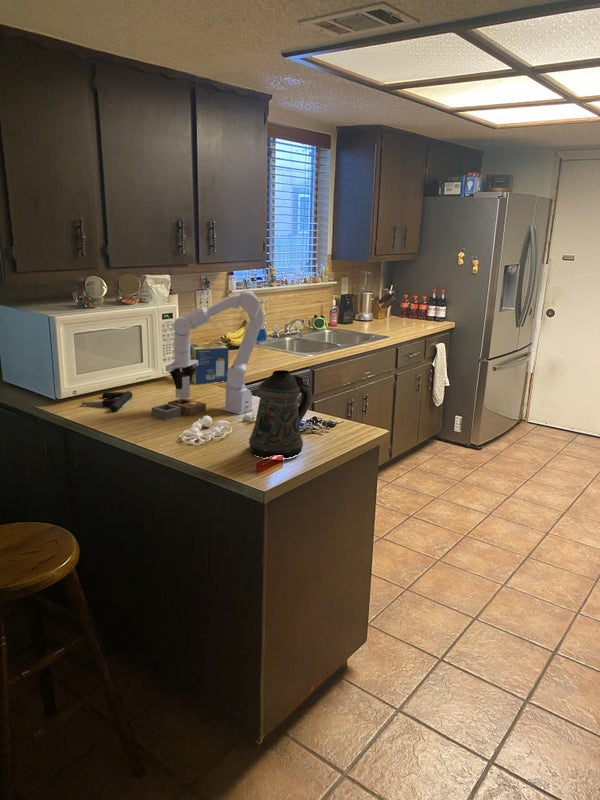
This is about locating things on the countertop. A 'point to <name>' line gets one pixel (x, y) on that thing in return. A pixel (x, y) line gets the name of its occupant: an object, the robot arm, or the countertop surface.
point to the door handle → (112, 400)
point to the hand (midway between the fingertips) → (182, 387)
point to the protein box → (209, 363)
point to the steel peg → (184, 388)
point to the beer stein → (280, 416)
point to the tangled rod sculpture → (197, 434)
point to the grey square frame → (166, 411)
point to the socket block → (188, 409)
